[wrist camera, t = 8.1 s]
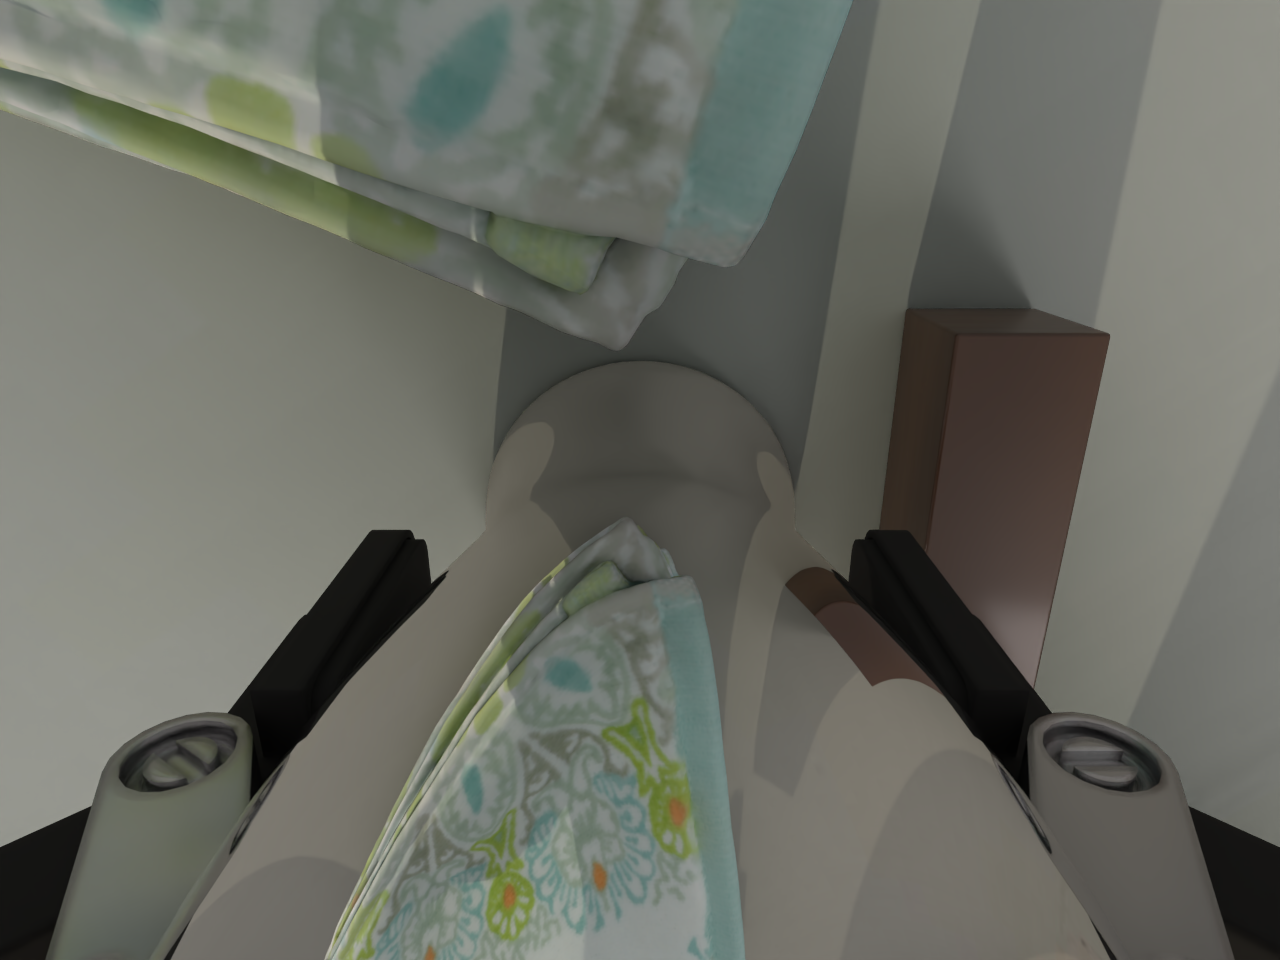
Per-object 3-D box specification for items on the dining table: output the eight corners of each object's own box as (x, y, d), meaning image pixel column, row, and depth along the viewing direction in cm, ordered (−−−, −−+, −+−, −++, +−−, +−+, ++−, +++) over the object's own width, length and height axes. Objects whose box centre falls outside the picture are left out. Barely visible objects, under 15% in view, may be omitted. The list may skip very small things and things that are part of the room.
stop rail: (1036, 308, 14) (1112, 333, 12) (956, 749, 18) (1003, 834, 16) (905, 308, 14) (956, 333, 12) (852, 749, 18) (883, 834, 16)
